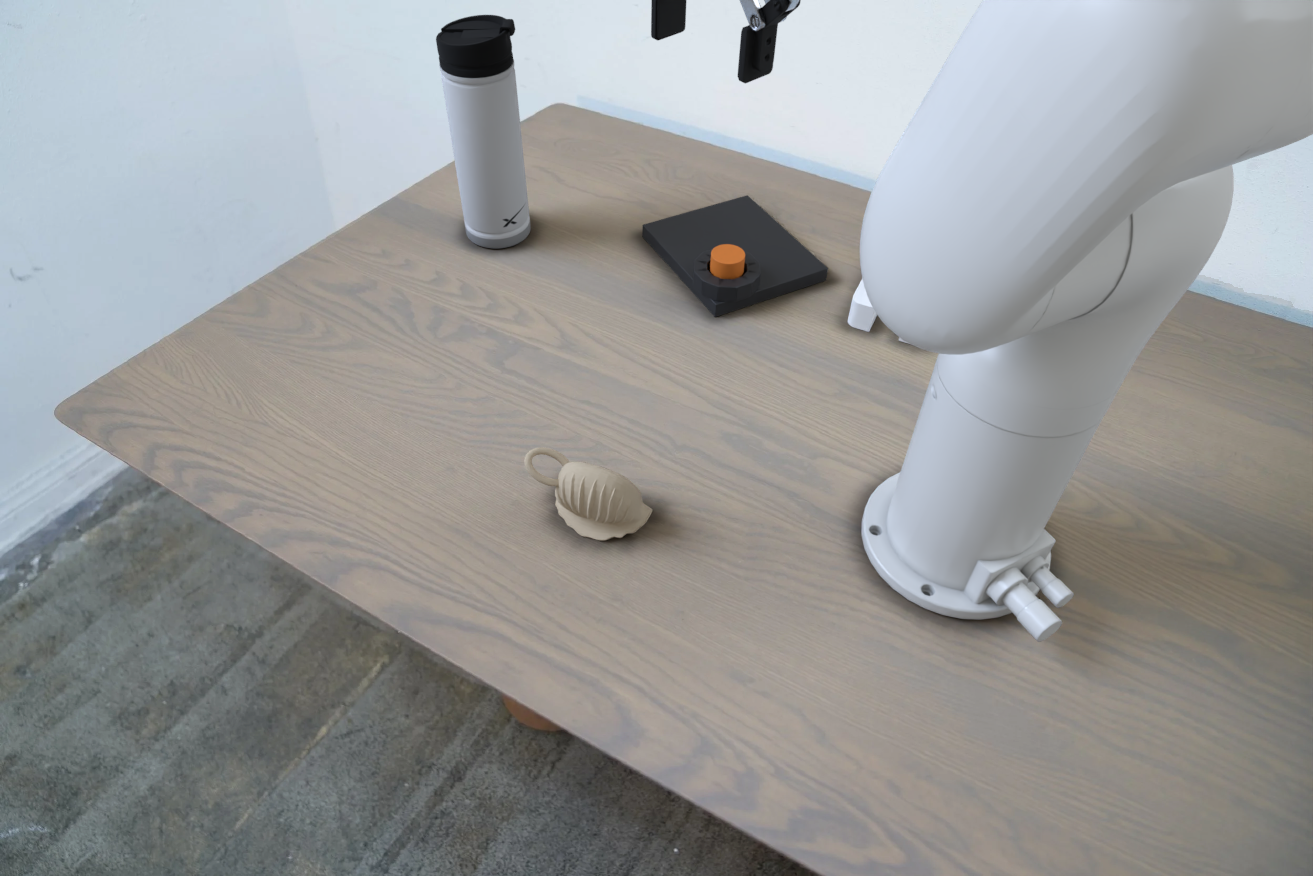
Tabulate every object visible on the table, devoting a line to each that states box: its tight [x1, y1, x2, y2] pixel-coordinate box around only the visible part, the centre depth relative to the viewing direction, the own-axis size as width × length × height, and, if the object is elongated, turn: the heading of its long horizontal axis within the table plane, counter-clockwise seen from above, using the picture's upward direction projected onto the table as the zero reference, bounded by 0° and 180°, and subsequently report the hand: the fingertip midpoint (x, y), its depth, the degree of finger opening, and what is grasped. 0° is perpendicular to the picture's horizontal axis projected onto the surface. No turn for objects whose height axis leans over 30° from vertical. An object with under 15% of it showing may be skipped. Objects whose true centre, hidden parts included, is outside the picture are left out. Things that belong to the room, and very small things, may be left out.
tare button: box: [710, 244, 745, 279], centre depth 79 cm, size 3×3×2 cm
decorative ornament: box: [523, 446, 654, 542], centre depth 62 cm, size 4×8×5 cm, turn 66°
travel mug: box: [435, 14, 531, 249], centre depth 81 cm, size 6×7×20 cm
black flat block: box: [641, 195, 829, 318], centre depth 84 cm, size 14×12×3 cm
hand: (710, 55), depth 70 cm, fingers open, 9 cm apart
